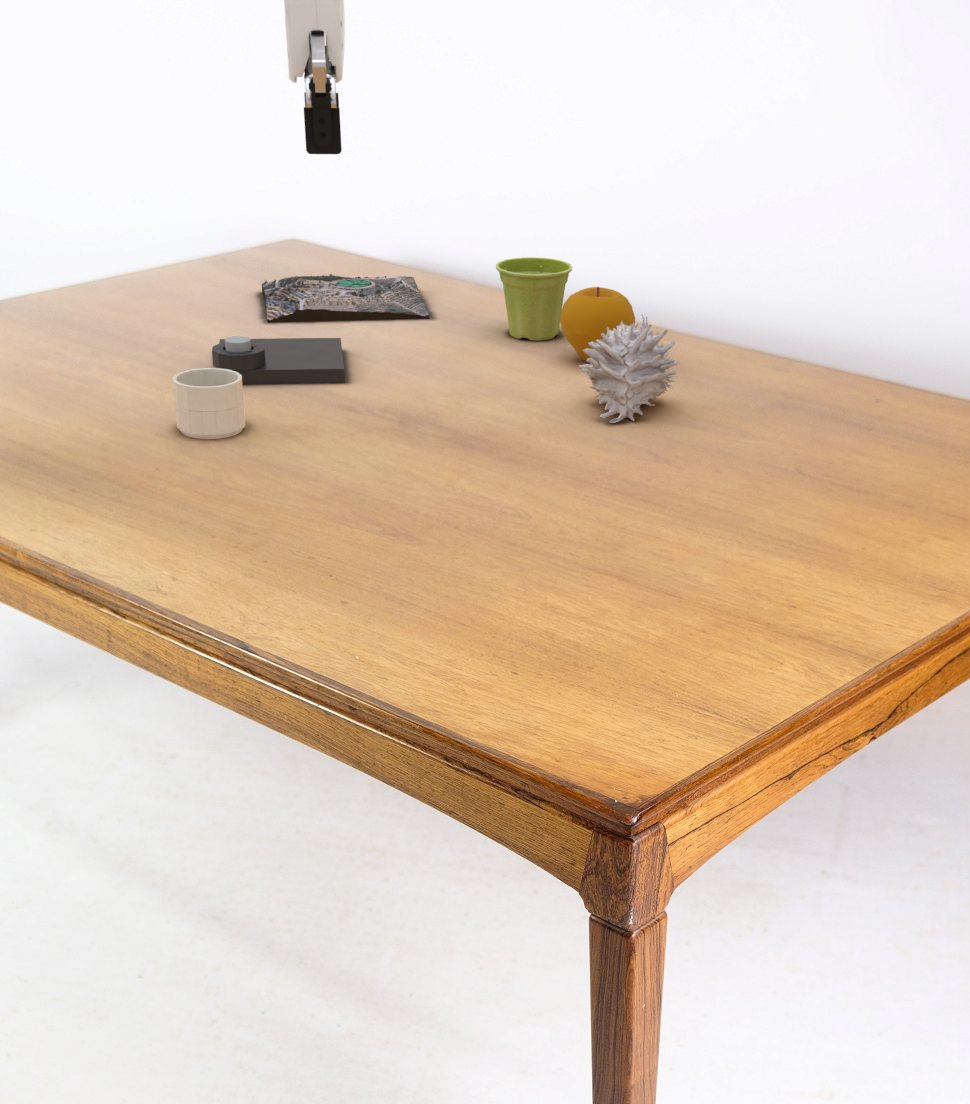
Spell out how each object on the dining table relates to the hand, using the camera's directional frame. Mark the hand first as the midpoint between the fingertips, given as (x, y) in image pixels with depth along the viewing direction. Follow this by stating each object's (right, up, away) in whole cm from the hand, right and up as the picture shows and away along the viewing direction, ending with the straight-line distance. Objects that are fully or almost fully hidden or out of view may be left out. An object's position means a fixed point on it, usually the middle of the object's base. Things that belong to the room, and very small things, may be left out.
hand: (323, 144), depth 154 cm
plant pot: (+17, -6, +50) cm, 53 cm away
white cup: (-14, -25, +13) cm, 31 cm away
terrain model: (-9, -1, +59) cm, 59 cm away
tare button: (-15, -13, +27) cm, 34 cm away
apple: (+25, -12, +41) cm, 49 cm away
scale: (-11, -14, +33) cm, 38 cm away
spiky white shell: (+28, -21, +24) cm, 43 cm away
